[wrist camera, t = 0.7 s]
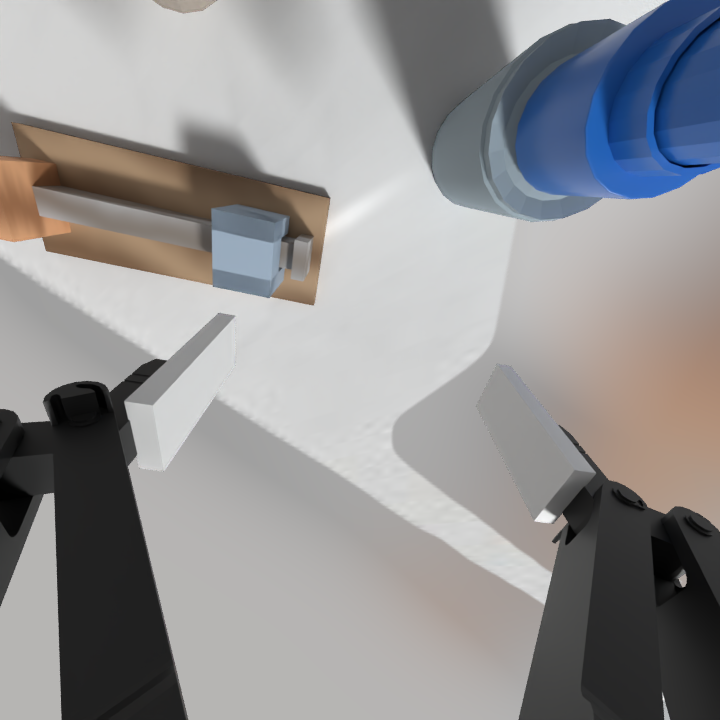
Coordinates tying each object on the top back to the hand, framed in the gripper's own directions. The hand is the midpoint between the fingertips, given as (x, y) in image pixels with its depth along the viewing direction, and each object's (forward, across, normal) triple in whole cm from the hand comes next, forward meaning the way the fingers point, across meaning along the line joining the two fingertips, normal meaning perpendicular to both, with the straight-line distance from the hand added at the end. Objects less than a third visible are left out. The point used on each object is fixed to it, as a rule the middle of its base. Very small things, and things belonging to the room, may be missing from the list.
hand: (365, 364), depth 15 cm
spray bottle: (+22, +9, +12) cm, 26 cm away
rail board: (+21, -19, 0) cm, 28 cm away
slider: (+20, -11, 0) cm, 23 cm away
